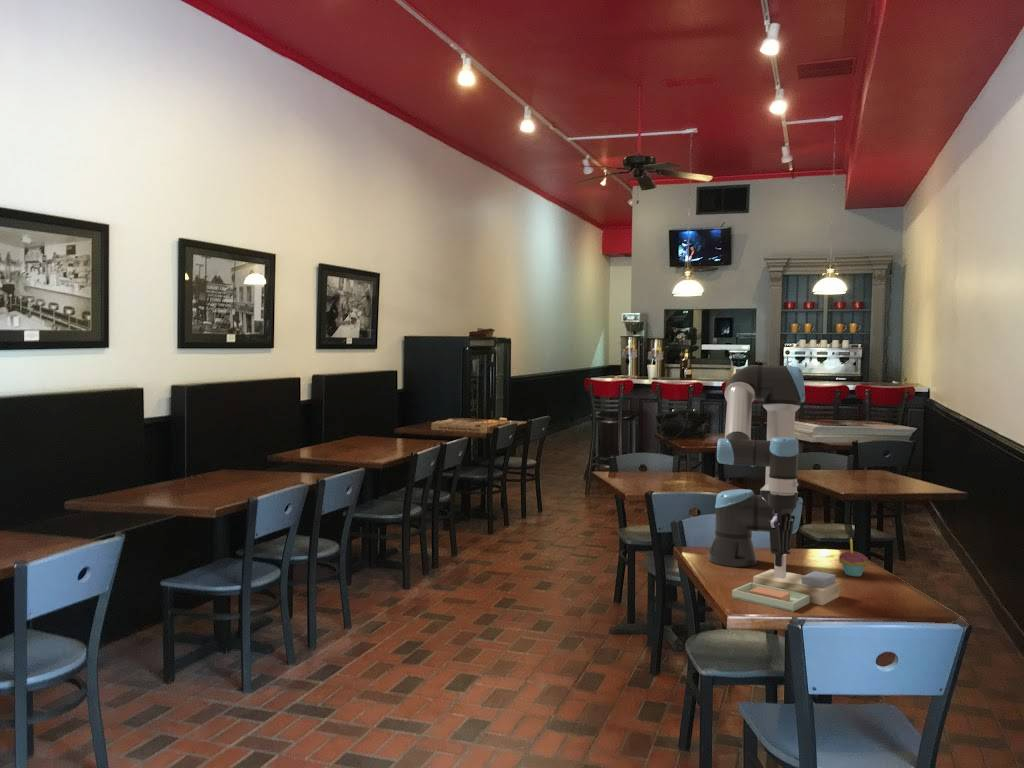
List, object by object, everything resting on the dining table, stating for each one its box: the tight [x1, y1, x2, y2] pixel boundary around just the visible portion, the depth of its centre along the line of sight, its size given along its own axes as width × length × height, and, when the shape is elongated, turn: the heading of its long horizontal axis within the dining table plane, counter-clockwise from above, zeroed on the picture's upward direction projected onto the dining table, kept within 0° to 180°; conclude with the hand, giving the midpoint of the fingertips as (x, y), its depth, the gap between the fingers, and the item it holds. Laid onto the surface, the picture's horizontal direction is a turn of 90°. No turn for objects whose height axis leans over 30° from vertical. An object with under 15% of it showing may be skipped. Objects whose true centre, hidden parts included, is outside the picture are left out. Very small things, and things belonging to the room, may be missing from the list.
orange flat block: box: [749, 586, 790, 602], centre depth 225 cm, size 9×6×2 cm, turn 49°
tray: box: [731, 582, 811, 613], centre depth 226 cm, size 17×11×2 cm, turn 48°
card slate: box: [802, 570, 837, 588], centre depth 230 cm, size 9×6×2 cm, turn 138°
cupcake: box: [838, 538, 869, 577], centre depth 256 cm, size 9×8×12 cm
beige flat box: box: [752, 568, 840, 606], centre depth 233 cm, size 20×12×4 cm, turn 48°
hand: (779, 577), depth 229 cm, fingers closed
